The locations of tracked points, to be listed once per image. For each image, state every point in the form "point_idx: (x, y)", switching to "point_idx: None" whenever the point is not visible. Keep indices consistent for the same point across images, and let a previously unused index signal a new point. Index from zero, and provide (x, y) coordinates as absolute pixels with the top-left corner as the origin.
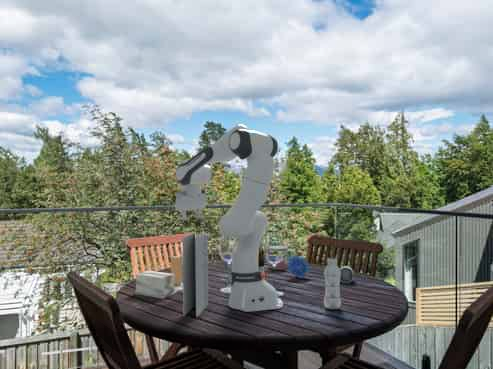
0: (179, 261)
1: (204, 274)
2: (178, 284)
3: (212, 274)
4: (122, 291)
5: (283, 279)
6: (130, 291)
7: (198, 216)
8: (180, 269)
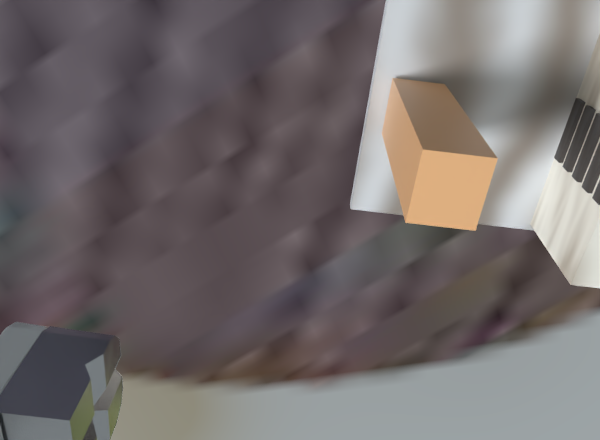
0: (452, 138)
1: None
2: None
3: (7, 36)
4: (592, 311)
5: None
6: None
7: (42, 356)
8: (426, 111)
